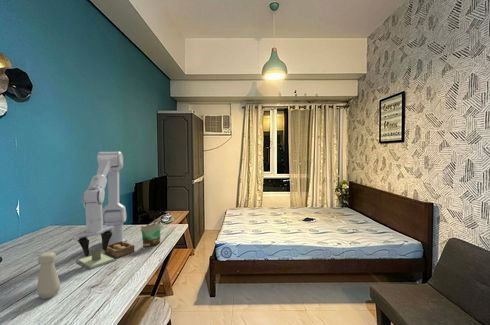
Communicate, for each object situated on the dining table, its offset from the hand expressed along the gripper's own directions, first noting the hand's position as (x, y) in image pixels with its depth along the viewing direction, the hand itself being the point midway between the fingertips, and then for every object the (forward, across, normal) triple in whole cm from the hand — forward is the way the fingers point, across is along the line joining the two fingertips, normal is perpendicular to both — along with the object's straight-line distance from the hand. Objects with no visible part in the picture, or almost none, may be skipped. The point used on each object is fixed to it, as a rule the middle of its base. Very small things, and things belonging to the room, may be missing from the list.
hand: (95, 252), depth 103 cm
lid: (+3, 0, 0) cm, 3 cm away
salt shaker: (+4, -20, -14) cm, 25 cm away
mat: (+3, 0, 0) cm, 3 cm away
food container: (+4, +25, -3) cm, 25 cm away
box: (+3, +10, +1) cm, 11 cm away
